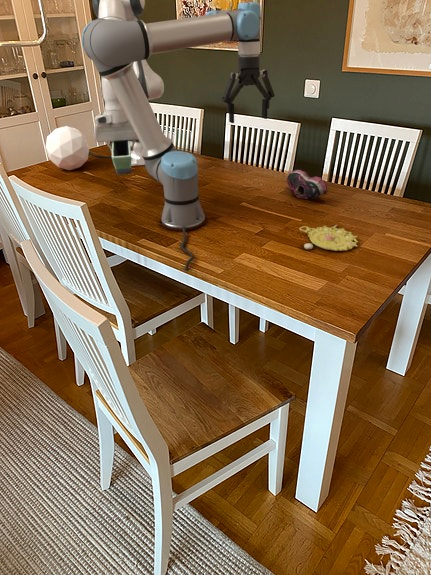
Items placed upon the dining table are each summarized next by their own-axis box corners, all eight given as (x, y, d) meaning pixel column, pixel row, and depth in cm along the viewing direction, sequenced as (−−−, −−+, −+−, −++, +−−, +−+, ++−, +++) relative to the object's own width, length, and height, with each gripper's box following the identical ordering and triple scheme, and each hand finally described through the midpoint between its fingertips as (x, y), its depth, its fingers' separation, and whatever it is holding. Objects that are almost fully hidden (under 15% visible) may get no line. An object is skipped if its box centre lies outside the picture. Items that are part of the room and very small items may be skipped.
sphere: (76, 185, 212) (61, 159, 193) (47, 165, 217) (29, 138, 198) (102, 157, 217) (90, 130, 198) (73, 138, 221) (58, 110, 203)
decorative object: (343, 255, 128) (285, 234, 139) (342, 262, 130) (284, 241, 140) (372, 230, 142) (317, 213, 152) (371, 237, 143) (316, 219, 153)
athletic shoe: (296, 169, 182) (271, 176, 178) (328, 163, 162) (302, 171, 158) (301, 196, 185) (277, 204, 181) (334, 193, 165) (308, 202, 161)
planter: (133, 174, 166) (131, 155, 162) (114, 176, 165) (111, 157, 161) (131, 155, 189) (129, 137, 185) (114, 156, 188) (112, 139, 184)
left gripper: (143, 112, 180) (146, 147, 187) (91, 116, 177) (97, 151, 185) (143, 116, 175) (147, 151, 182) (91, 119, 172) (97, 155, 179)
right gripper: (275, 52, 159) (272, 114, 170) (211, 57, 151) (213, 122, 162) (286, 54, 153) (282, 118, 164) (220, 59, 145) (221, 126, 156)
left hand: (122, 151), depth 183 cm, fingers closed on planter, 6 cm apart
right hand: (248, 120), depth 163 cm, fingers open, 13 cm apart
